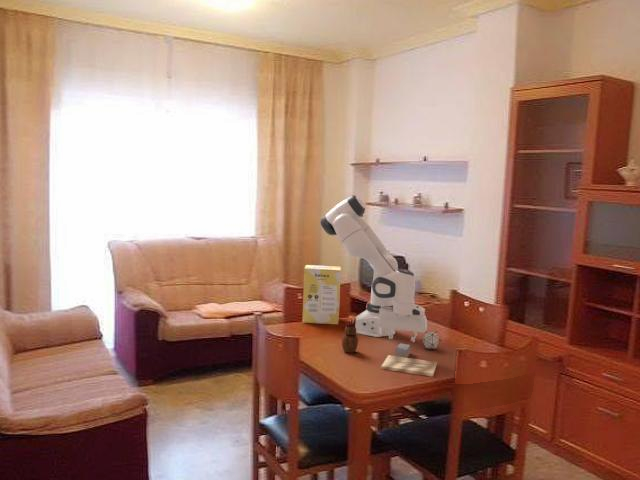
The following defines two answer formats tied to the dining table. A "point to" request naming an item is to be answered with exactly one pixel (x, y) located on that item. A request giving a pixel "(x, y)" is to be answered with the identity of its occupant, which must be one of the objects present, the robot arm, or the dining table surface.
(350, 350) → the wooden figurine
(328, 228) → the robot arm
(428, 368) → the board
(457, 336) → the dining table surface
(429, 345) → the grey spiky ball
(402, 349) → the sanding block
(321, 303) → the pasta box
